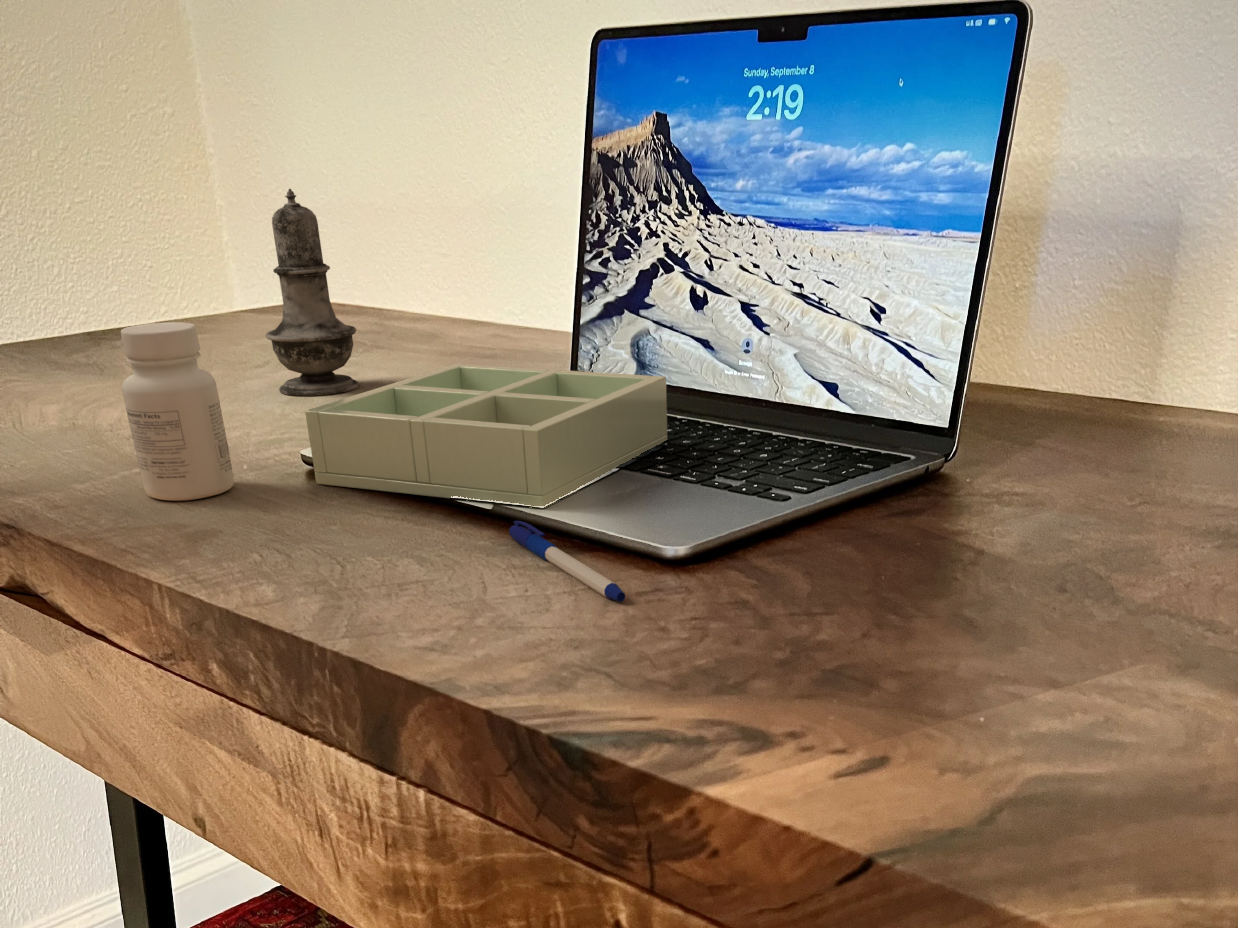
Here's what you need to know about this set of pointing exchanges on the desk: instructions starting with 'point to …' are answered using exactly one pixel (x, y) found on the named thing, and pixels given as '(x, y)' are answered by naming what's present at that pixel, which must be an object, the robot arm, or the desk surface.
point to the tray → (488, 432)
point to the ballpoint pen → (564, 560)
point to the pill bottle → (174, 414)
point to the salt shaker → (307, 308)
